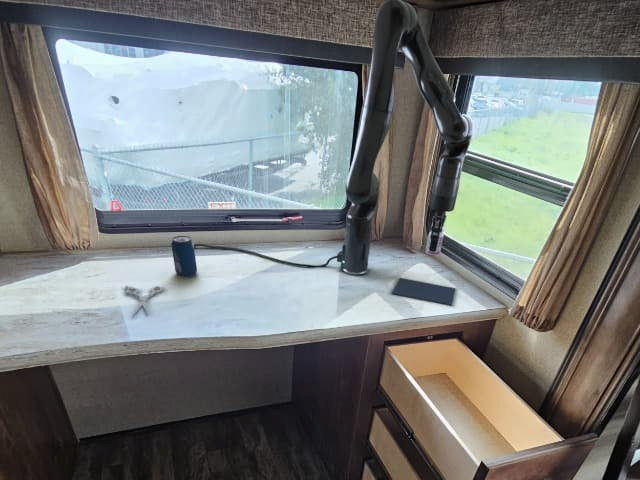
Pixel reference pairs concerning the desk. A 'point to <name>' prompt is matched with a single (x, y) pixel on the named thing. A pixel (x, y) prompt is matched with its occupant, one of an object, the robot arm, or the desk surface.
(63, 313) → the desk surface
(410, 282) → the mat
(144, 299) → the scissors
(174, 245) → the soda can
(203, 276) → the desk surface
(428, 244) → the pill bottle
